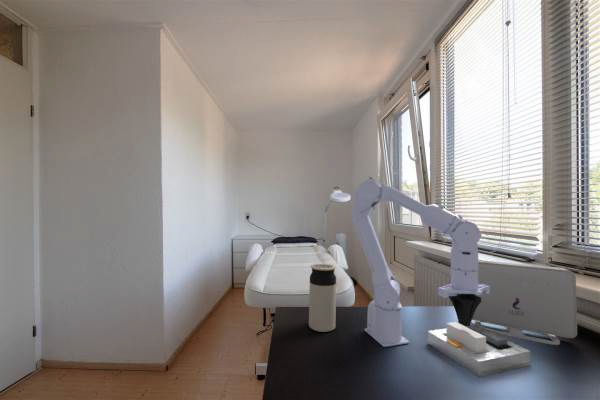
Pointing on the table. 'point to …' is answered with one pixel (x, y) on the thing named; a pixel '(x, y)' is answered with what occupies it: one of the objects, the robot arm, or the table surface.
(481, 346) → the rectangular block
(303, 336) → the table surface
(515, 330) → the network device
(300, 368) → the table surface
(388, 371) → the table surface
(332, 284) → the travel mug
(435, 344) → the rack
